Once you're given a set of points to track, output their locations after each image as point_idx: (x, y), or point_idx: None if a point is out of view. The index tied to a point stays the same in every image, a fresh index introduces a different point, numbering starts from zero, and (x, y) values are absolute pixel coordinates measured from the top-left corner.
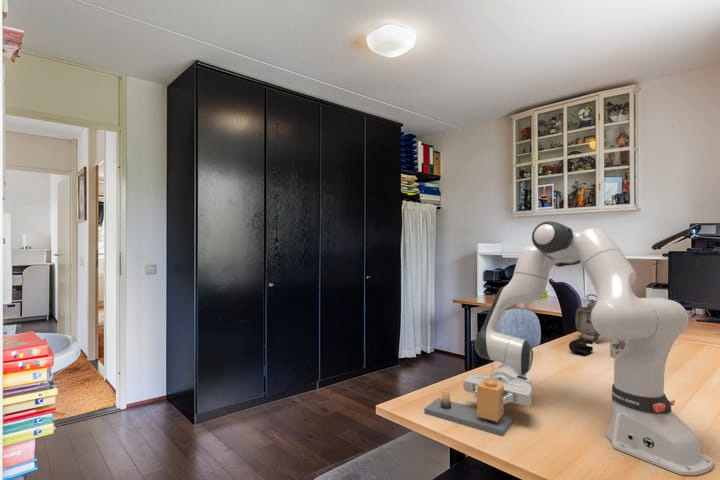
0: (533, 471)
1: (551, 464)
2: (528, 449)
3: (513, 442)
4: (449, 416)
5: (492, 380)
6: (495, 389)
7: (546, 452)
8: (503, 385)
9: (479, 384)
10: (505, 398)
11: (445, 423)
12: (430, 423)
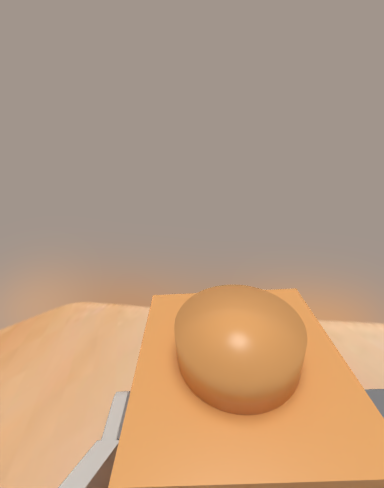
0: (77, 303)
1: (22, 342)
2: (65, 376)
3: (110, 390)
4: (377, 391)
5: (230, 343)
6: (170, 300)
7: (6, 393)
8: (116, 470)
9: (304, 311)
10: (114, 399)
11: (354, 371)
12: (376, 342)
